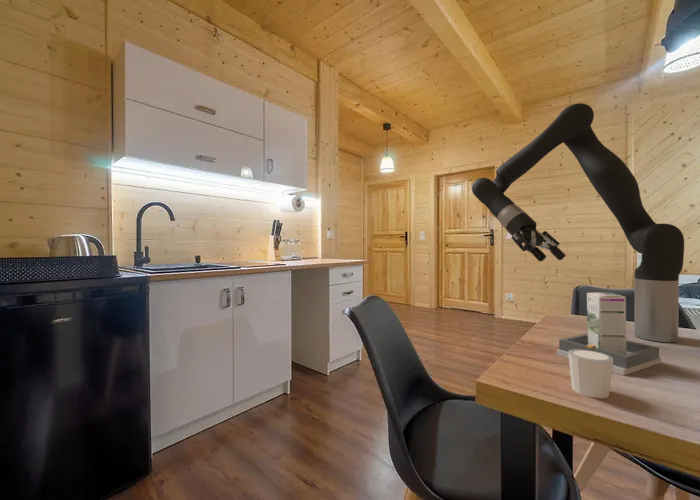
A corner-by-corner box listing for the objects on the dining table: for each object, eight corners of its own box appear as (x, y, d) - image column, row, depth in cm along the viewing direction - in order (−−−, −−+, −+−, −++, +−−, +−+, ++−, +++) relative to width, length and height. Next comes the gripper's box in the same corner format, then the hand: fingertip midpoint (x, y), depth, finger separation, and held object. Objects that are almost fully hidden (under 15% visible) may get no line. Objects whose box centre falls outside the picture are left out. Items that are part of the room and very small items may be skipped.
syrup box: (627, 358, 73) (628, 296, 73) (598, 356, 74) (599, 295, 74) (612, 350, 79) (612, 292, 78) (585, 349, 80) (585, 291, 79)
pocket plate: (593, 345, 86) (593, 330, 86) (661, 362, 73) (661, 345, 73) (556, 354, 79) (556, 338, 79) (623, 375, 67) (623, 356, 67)
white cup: (559, 383, 63) (559, 348, 63) (594, 383, 63) (594, 348, 63) (584, 399, 57) (584, 361, 56) (623, 400, 56) (623, 361, 56)
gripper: (507, 211, 94) (546, 250, 84) (538, 212, 100) (578, 248, 90) (493, 230, 99) (528, 269, 89) (523, 230, 105) (559, 266, 94)
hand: (553, 258), depth 89 cm, fingers open, 8 cm apart
